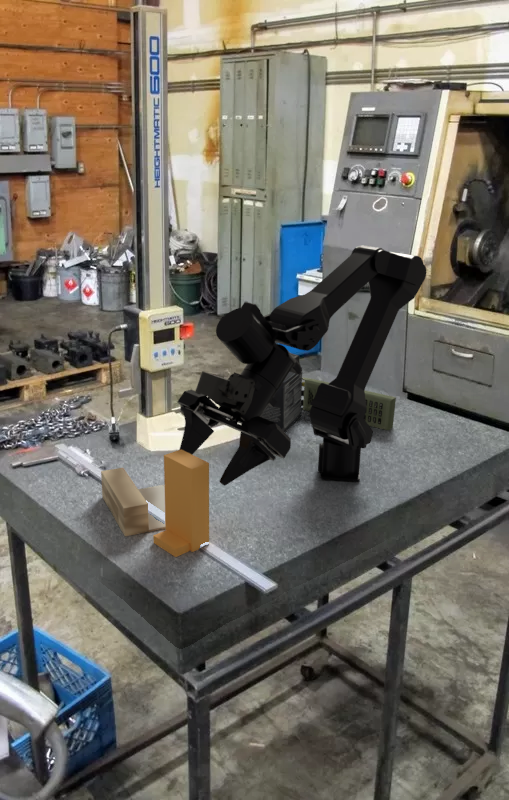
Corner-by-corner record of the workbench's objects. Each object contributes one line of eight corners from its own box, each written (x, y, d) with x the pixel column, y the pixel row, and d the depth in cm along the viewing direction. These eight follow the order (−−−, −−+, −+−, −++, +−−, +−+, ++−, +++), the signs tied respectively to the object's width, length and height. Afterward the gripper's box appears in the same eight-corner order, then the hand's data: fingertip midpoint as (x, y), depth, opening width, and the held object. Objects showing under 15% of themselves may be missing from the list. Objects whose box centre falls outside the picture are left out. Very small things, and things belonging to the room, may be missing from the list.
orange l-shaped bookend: (182, 528, 110) (181, 449, 106) (209, 544, 106) (209, 462, 102) (151, 541, 107) (148, 460, 102) (178, 558, 103) (176, 474, 98)
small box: (272, 410, 156) (273, 361, 153) (302, 415, 154) (304, 366, 150) (252, 428, 147) (253, 376, 143) (283, 434, 145) (285, 381, 141)
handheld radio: (387, 432, 147) (277, 405, 160) (394, 428, 149) (285, 402, 162) (390, 400, 145) (279, 375, 157) (397, 395, 147) (287, 371, 160)
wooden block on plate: (163, 486, 123) (163, 460, 121) (191, 523, 112) (191, 495, 110) (102, 497, 119) (101, 471, 117) (124, 536, 108) (123, 508, 106)
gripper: (187, 335, 110) (125, 425, 106) (279, 365, 97) (212, 468, 94) (227, 377, 117) (171, 461, 114) (317, 409, 105) (257, 506, 101)
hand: (199, 472), depth 106 cm, fingers open, 9 cm apart
